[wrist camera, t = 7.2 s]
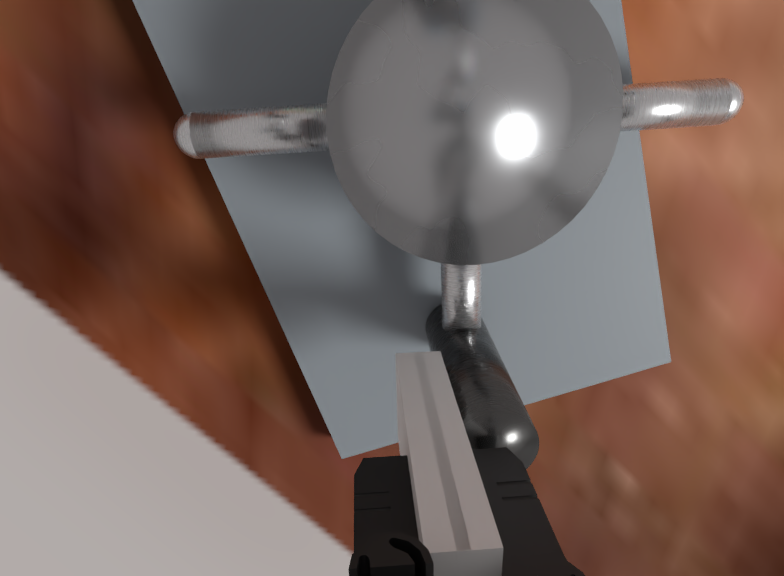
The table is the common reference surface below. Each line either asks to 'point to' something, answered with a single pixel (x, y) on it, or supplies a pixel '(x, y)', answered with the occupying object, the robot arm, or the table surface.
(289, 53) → the stand plate
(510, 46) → the cam capstan
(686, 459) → the table surface
